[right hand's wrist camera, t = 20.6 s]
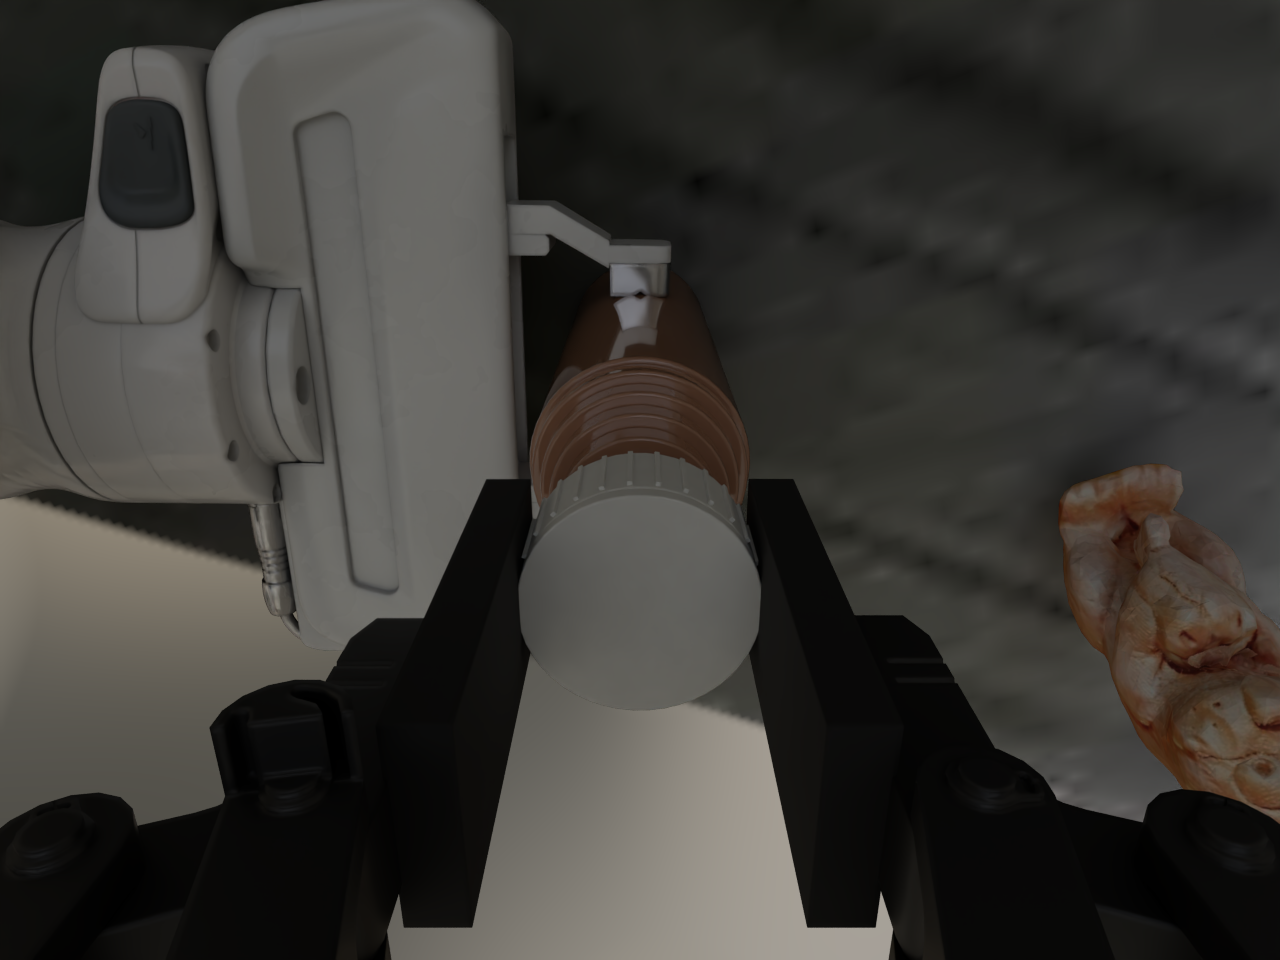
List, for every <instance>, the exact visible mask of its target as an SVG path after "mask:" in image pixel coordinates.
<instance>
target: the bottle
mask: <svg viewBox="0 0 1280 960" xmlns="http://www.w3.org/2000/svg"><path fill="white" fill-rule="evenodd" d="M628 451H633V453H651V454H654V452H660V455H665V456H669V457H673V458H676V459H679V460H680V458H683V459H685V462H687V463H690V464H691V465H693V466H695V467H697V468H699V469H701V470H703V469H706V470H707V471H708V474H709V475H710V476H711V477H712V478H714V479H715V480H716V481H717V482H718V483H719V484H720V485H721V486H722V485H723V484H724V485H725V486H726V487H727V489H728V493H729V495H730V496H731V497H732V499H733V500H734V502H735V503H736V505H737V504H738V503H739V504H740V505H741V504H742V502H743V499H744V495H745V491H746V486H747V481H748V477H749V468H750V449H749V443H748V437H747V434H746V431H745V428H744V424H743V422H742V419H741V416H740V413H739V411H738V408H737V405H736V402H735V400H734V397H733V394H732V391H731V389H730V386H729V383H728V380H727V378H726V375H725V372H724V369H723V367H722V364H721V361H720V358H719V356H718V353H717V350H716V347H715V345H714V342H713V339H712V336H711V334H710V331H709V328H708V325H707V323H706V320H705V317H704V314H703V312H702V309H701V306H700V303H699V301H698V299H697V297H696V295H695V294H694V292H693V290H692V289H691V288H690V287H689V285H688V284H687V283H686V282H685V281H684V280H683V279H682V278H681V277H680V276H678V275H677V274H675V273H674V272H672V271H670V292H669V295H668V296H664V297H653V296H646V295H645V294H643V293H642V292H641V291H640V292H639V293H637V294H636V295H634V296H610V270H609V271H607V272H606V273H604V274H603V275H602V276H600V277H599V278H598V279H597V280H596V281H595V282H593V284H592V285H591V286H590V287H589V288H588V290H587V291H586V293H585V294H584V296H583V298H582V300H581V303H580V305H579V308H578V310H577V313H576V316H575V319H574V321H573V324H572V327H571V330H570V332H569V335H568V338H567V341H566V343H565V346H564V349H563V352H562V354H561V357H560V360H559V363H558V365H557V368H556V371H555V374H554V376H553V379H552V382H551V385H550V387H549V390H548V393H547V396H546V398H545V401H544V404H543V407H542V409H541V412H540V415H539V418H538V420H537V423H536V426H535V429H534V433H533V436H532V441H531V447H530V472H531V479H532V483H533V489H534V493H535V497H536V500H537V503H538V505H539V508H540V506H541V502H542V500H543V498H544V497H545V498H548V497H549V496H550V494H551V493H552V492H553V490H554V489H555V488H556V487H557V483H558V481H559V480H560V479H562V480H565V479H566V478H567V477H569V476H570V475H571V474H573V473H574V472H575V471H577V470H578V467H579V466H581V465H583V467H584V466H586V465H588V464H590V463H593V462H595V461H598V460H600V459H602V456H605V455H607V457H611V456H614V455H620V454H628Z"/></svg>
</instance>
